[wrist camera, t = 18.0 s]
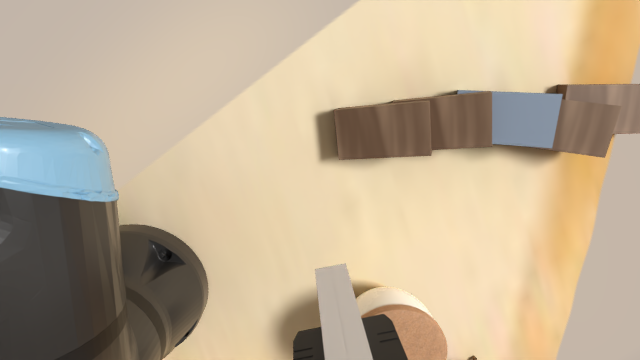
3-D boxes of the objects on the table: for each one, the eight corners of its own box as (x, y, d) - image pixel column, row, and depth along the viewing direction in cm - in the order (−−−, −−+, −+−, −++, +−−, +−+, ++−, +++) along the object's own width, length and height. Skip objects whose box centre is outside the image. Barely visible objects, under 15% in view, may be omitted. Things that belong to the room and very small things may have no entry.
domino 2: (395, 151, 38) (492, 146, 35) (391, 102, 36) (492, 92, 33) (397, 147, 39) (489, 142, 37) (394, 100, 38) (489, 91, 35)
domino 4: (507, 144, 38) (604, 157, 36) (519, 94, 37) (621, 106, 35) (502, 141, 40) (595, 154, 38) (514, 93, 38) (611, 105, 37)
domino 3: (457, 90, 38) (556, 93, 36) (451, 138, 39) (546, 145, 37) (458, 90, 36) (562, 94, 34) (451, 140, 38) (552, 148, 35)
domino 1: (338, 159, 38) (431, 155, 35) (333, 110, 36) (429, 101, 33) (343, 155, 39) (431, 151, 37) (338, 108, 38) (429, 99, 35)
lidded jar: (317, 305, 44) (320, 363, 35) (390, 253, 43) (414, 299, 34) (369, 363, 46) (385, 432, 37) (440, 316, 45) (475, 375, 36)
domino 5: (559, 134, 38) (642, 133, 39) (567, 84, 37) (653, 84, 37) (547, 132, 40) (626, 130, 41) (554, 84, 39) (636, 84, 39)
